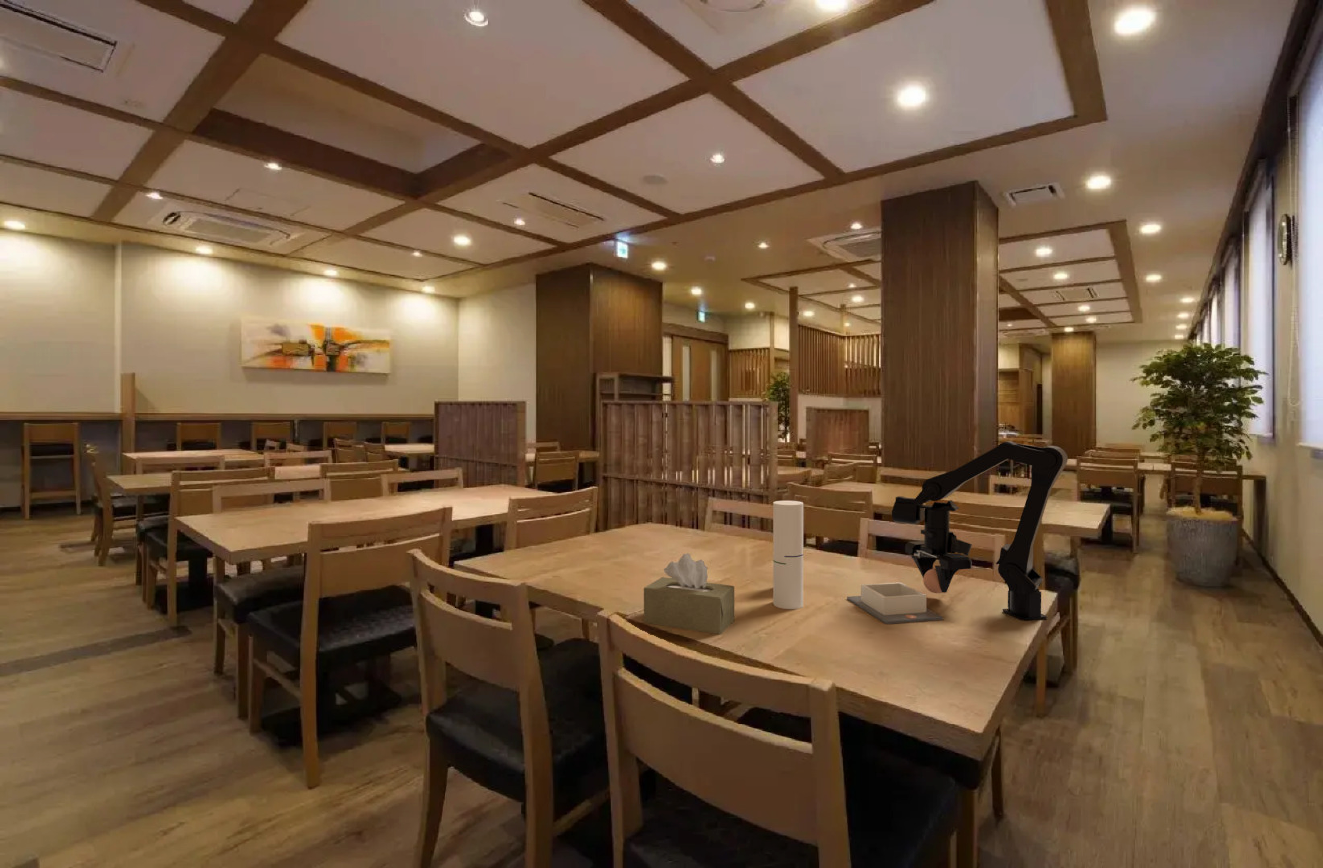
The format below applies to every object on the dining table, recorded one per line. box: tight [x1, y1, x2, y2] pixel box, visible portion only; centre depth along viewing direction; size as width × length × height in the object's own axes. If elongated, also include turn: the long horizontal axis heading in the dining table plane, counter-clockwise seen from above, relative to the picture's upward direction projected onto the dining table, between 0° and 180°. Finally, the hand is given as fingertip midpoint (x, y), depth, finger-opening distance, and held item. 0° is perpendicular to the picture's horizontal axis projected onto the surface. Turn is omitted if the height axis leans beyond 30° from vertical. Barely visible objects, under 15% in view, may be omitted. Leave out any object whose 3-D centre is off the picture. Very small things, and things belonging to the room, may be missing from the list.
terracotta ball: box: [922, 568, 943, 594], centre depth 151 cm, size 6×6×6 cm
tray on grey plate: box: [846, 581, 944, 625], centre depth 144 cm, size 18×14×5 cm
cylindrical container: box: [772, 500, 804, 610], centre depth 147 cm, size 7×7×25 cm
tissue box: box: [643, 553, 735, 635], centre depth 136 cm, size 19×10×16 cm, turn 65°
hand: (936, 588), depth 151 cm, fingers closed on terracotta ball, 6 cm apart
